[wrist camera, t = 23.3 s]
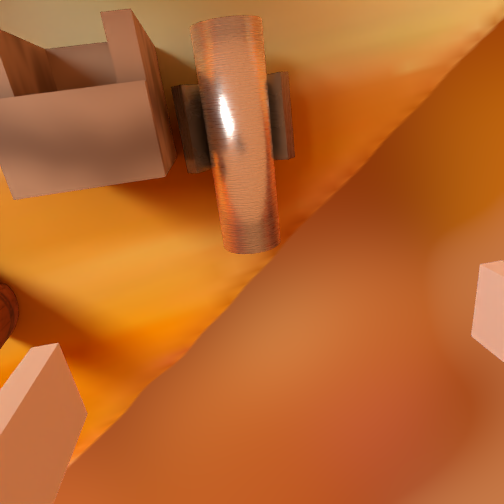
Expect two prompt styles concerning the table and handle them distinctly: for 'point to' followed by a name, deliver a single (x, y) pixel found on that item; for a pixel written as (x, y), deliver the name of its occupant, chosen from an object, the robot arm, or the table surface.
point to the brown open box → (83, 112)
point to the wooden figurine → (7, 313)
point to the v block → (195, 130)
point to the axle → (238, 129)
